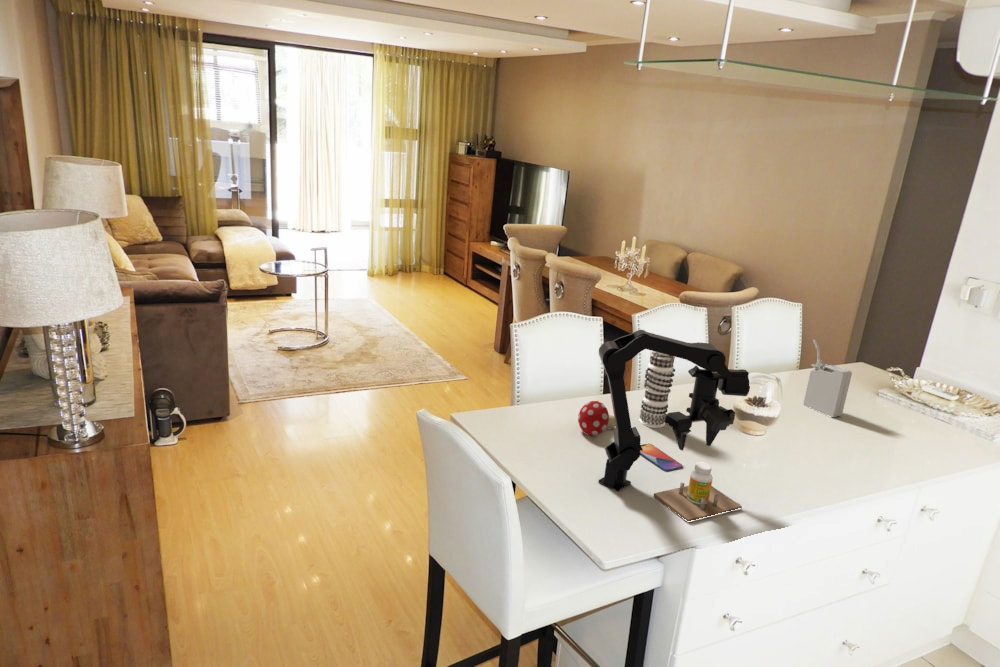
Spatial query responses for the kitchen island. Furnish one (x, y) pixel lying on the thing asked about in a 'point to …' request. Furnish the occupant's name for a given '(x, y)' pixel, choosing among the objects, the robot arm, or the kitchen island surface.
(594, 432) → the decorative mushroom
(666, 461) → the smartphone
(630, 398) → the kitchen island surface
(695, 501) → the supplement bottle
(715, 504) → the pin tray
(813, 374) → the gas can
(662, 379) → the decorative candle
